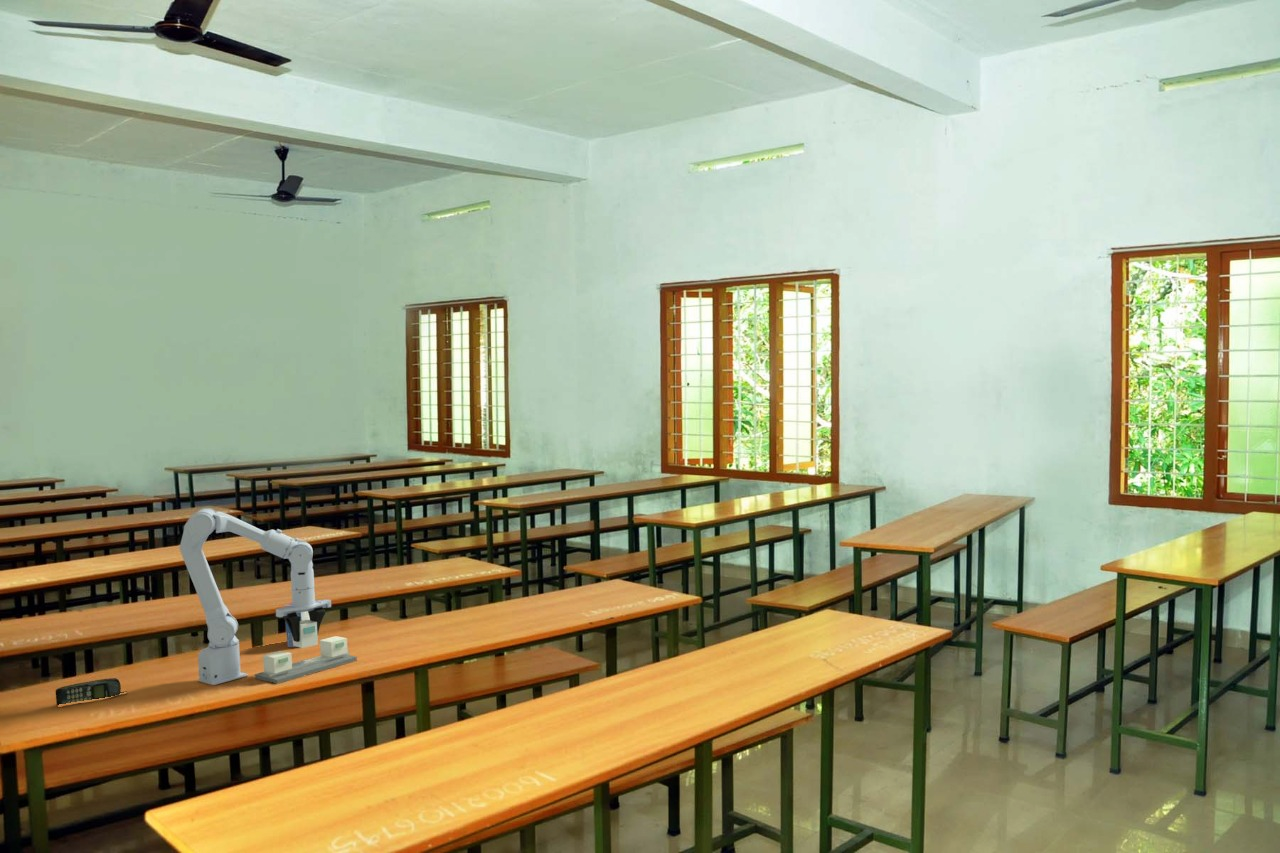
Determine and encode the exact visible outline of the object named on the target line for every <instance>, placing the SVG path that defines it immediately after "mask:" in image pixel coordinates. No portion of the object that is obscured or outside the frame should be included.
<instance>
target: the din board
mask: <svg viewBox="0 0 1280 853" xmlns="http://www.w3.org/2000/svg"><path fill="white" fill-rule="evenodd" d="M356 661H358V657H357V656H355V655H350V654H349V655H348V656H345V657H341V658H338V659H334V660H331V661H327V662H324V663H320V664H317V665H313V666H310V667H307V668H303V669H300V670H296V671H293V672H289V673H286V674H282V675H279V676H275V677H272V678H268V677H264V676H262V672H263V671H262V672H258V673H255V674H254V679H257V680H261V681H266V682H269V683H272V682H273V684H276V683H279V684H281V683H280V682H282V683H285V682H289V681H291V679H292V680H296V679H299V678H302V677H305V676H304V675H306V676H308V674H309V675H312V673H313V674H316V673H319V672H322V670H323V671H326V670H329V669H333V668H336V667H339V666H343V665H346V664H349V663H353V662H356ZM318 671H319V672H318ZM315 672H316V673H315ZM298 677H299V678H298ZM295 678H296V679H295ZM288 680H289V681H288ZM284 681H285V682H284Z"/></svg>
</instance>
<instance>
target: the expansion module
mask: <svg viewBox="0 0 1280 853" xmlns="http://www.w3.org/2000/svg"><path fill="white" fill-rule="evenodd" d="M299 632H300V641H299V642H296V641H294V640H293V646H296V647H295V648H300V649H304V648H310V647H313V646H317V645H319V633H318V634H317V622H315V621H311V620H303V621H300V626H299ZM292 637H293V636H292Z"/></svg>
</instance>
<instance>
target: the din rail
mask: <svg viewBox="0 0 1280 853" xmlns="http://www.w3.org/2000/svg"><path fill="white" fill-rule="evenodd" d="M348 655H350V651H349V650H348V653H345V654H342V655H338V656H335V657H328V656H324V655H321V654H320V655H318V656H315V657H311V658H308V659H304V660H301V661H297V662H294V663H293V662H292V669H289V670H286V671H282V672H279V673H271V672H267V671H264V670H263V671H262V676H264V677H268V678H272V677H275V676H279V675H282V674H286V673H289V672H293V671H296V670H300V669H303V668H307V667H310V666H313V665H317V664H320V663H324V662H327V661H331V660H334V659H338V658H341V657H345V656H348Z"/></svg>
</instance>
